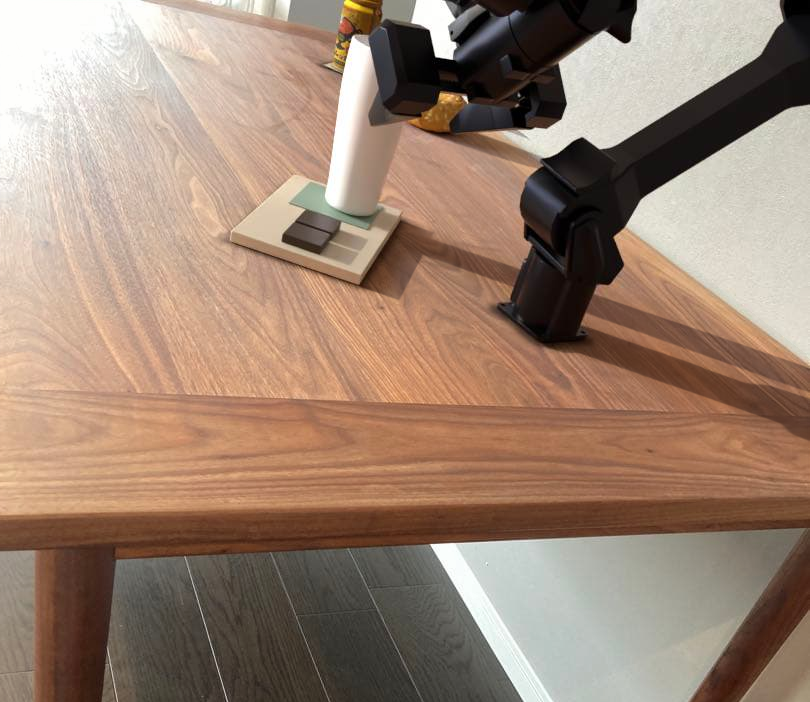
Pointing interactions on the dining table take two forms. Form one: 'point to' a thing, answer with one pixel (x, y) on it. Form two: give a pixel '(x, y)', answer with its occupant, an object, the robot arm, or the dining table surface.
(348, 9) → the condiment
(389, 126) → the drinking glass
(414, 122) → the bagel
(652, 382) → the dining table surface
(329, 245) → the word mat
